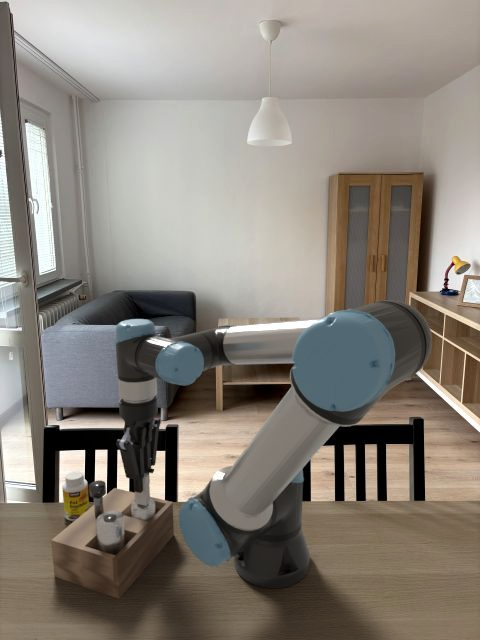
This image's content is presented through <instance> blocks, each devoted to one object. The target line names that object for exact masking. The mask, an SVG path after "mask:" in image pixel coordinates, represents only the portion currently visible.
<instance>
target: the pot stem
mask: <svg viewBox="0 0 480 640" xmlns="http://www.w3.org/2000/svg"><path fill="white" fill-rule="evenodd" d="M106 485H107V484H106V482H105V481H104V480H95V481H92V482H90V483H89V484H88V492H89V497H90V498H92V499H93V505H94V510H95V517H96V518H97V517H98V516H99V515H101V514H102V513H104V507H103V497H104V496H105V495H107V486H106Z"/></svg>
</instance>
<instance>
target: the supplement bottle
mask: <svg viewBox="0 0 480 640" xmlns="http://www.w3.org/2000/svg"><path fill="white" fill-rule="evenodd" d="M64 477H65V482H63V484H62V500H63V501H62V503H63V514H64V518H65V519H66V520H68V521H70V522H74V521H75V520H76V519H78V518H79V517H80V516H81V515H82V514H84V513H85V512H86V511H87V510H88V509H90V501H89V497H90V496H89V483H88V481H87V480H86V479H85V478H84V477H85V476H84V473H83V472H82V471H80V470H75V471H70V472H68V473H67V474H65V476H64Z"/></svg>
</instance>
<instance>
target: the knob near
mask: <svg viewBox="0 0 480 640" xmlns="http://www.w3.org/2000/svg"><path fill="white" fill-rule="evenodd" d="M96 522H97V537H98V550H99V551H102V552H106V553H109V554H112V555H115V556H116V555H117V554H118V553H119V552H120V551H121V550H122V549H123V548H124V547H125V531H124V515H123V514H122V513H121V512H118V511H108V512H105V513H102V514H101V515H99V516H98V517H97V520H96Z"/></svg>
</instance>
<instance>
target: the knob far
mask: <svg viewBox="0 0 480 640" xmlns="http://www.w3.org/2000/svg"><path fill="white" fill-rule="evenodd" d="M155 515H156V511H155V501H154V500H152V499H150V503H149V504H148V505H147V506H144V505H140V504H136V503H135V501H134V502H133V503H132V504H131V516H132V518H136V519H140V520H143V521H147V522H149V521H150V520H151V519H152V518H153V517H154V516H155Z"/></svg>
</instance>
